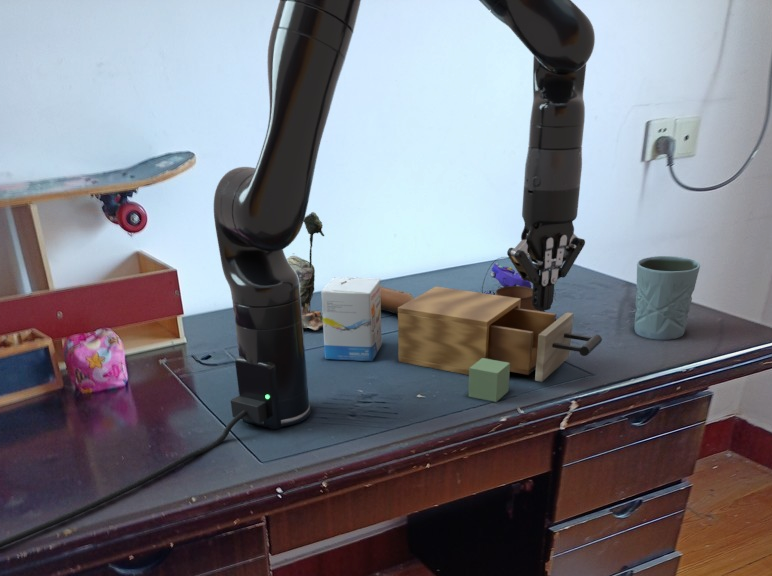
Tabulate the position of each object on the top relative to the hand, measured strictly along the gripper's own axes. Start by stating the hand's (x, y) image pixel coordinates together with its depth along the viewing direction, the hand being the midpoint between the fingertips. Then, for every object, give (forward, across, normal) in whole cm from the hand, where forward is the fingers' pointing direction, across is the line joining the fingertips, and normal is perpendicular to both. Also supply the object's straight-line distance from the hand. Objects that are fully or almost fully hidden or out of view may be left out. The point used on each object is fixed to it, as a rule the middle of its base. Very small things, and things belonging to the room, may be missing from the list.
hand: (541, 309), depth 121 cm
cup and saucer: (+12, -16, -24) cm, 31 cm away
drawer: (+11, -4, -6) cm, 13 cm away
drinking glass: (+12, -34, -6) cm, 36 cm away
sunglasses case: (+12, -3, -44) cm, 46 cm away
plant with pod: (+12, +16, -47) cm, 51 cm away
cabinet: (+12, +2, -17) cm, 21 cm away
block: (+12, +8, -2) cm, 14 cm away
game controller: (+12, -25, -38) cm, 47 cm away
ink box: (+12, +15, -29) cm, 35 cm away
